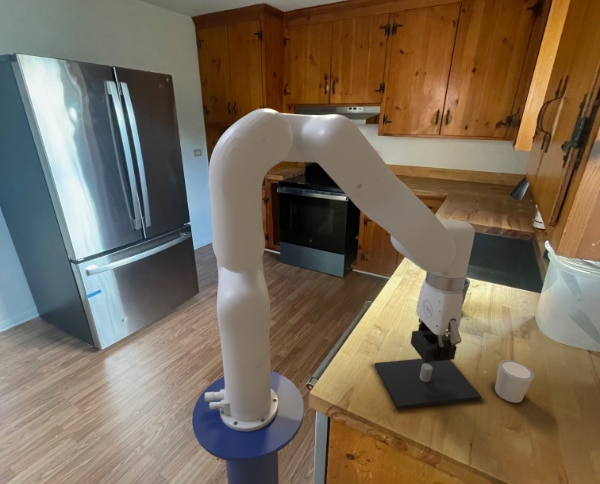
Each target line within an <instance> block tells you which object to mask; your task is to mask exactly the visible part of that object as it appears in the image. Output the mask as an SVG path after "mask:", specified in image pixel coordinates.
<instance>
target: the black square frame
mask: <svg viewBox="0 0 600 484" xmlns="http://www.w3.org/2000/svg"><path fill="white" fill-rule="evenodd" d="M443 337H444V341H445V340H448V335H443ZM410 338H411V339H410V345H411V346H412V347H413V349H414V350H415V351H416V352H417V354H418V355H419V357H420V359H423V361H424V362H425V363H426V362H435V361H436V360H435V359H434V356H435V351H436V345H437V344H439V340H438V335H436V334H434V333H433V332H432V331H431V330H419V331H418V330H412V332H411V337H410ZM457 348H458V347H457V345H454V346H451V350H450V355H449V358H448V359H446V360H451V361H452V360H455V356H456V353H457ZM437 361H444V360H437Z"/></svg>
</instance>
